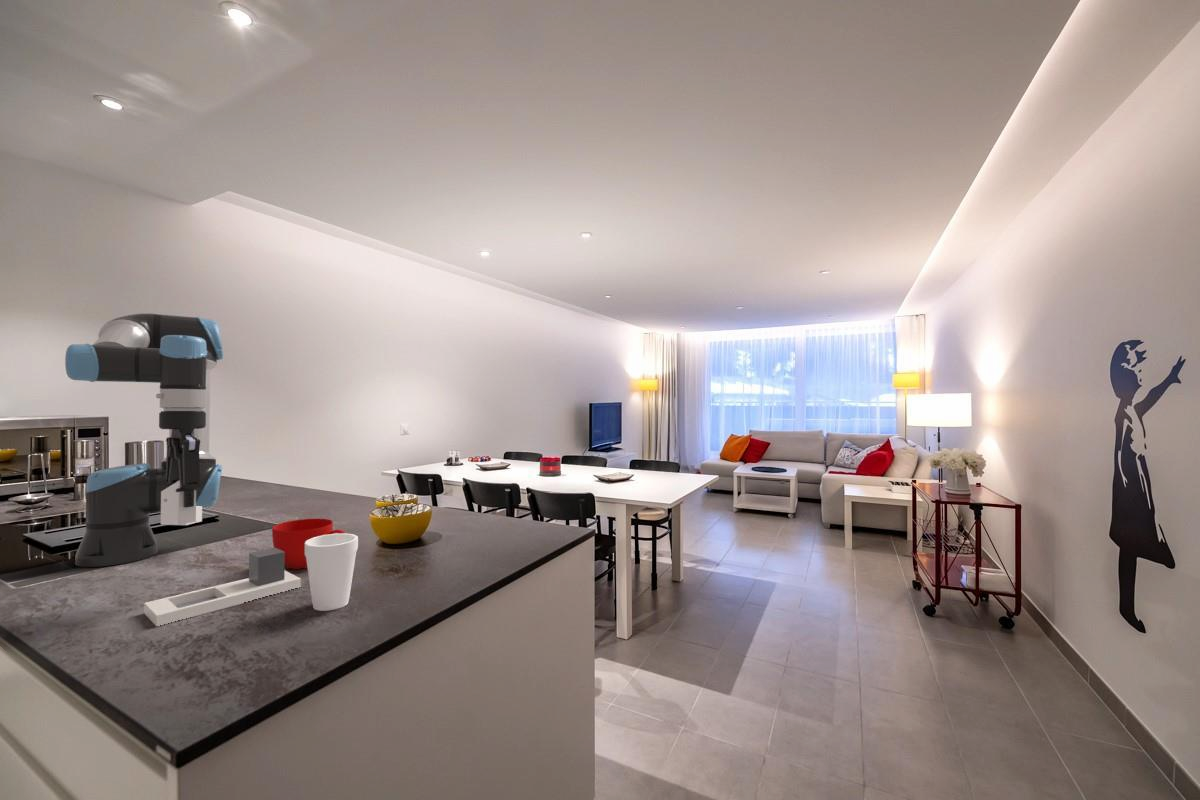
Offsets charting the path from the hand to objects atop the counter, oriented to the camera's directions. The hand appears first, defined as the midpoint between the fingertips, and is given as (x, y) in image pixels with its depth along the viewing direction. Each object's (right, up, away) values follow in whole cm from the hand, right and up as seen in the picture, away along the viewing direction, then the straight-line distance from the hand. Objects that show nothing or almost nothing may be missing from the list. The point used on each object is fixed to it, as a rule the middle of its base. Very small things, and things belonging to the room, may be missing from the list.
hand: (181, 519), depth 104 cm
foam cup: (+33, -16, -4) cm, 37 cm away
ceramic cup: (+16, -16, +20) cm, 30 cm away
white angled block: (0, -1, 0) cm, 1 cm away
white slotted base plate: (+11, -16, -2) cm, 19 cm away
